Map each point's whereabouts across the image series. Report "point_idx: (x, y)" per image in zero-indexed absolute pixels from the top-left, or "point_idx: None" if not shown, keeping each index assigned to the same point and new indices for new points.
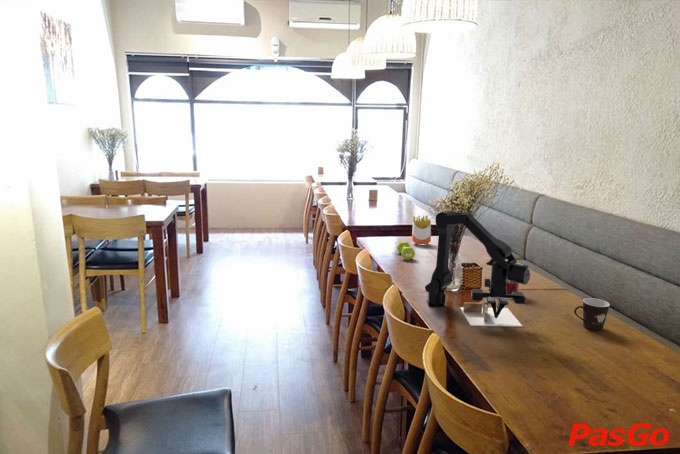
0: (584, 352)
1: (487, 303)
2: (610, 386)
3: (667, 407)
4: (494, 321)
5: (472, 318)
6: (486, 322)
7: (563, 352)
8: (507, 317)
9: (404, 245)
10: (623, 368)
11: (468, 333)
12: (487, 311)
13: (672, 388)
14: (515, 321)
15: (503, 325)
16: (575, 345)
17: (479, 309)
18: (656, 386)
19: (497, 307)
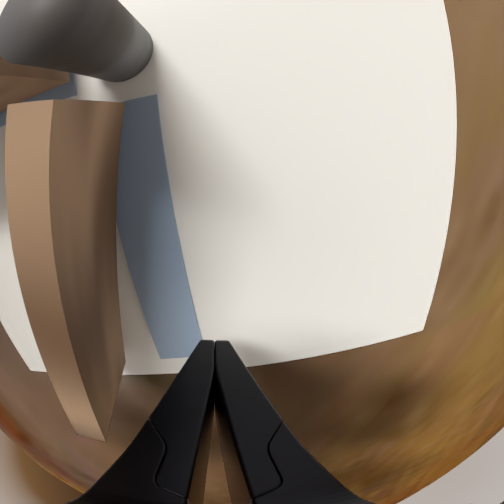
0: (464, 427)
1: (61, 43)
2: (394, 492)
3: (423, 487)
4: (204, 304)
5: (4, 263)
6: (122, 361)
7: (412, 452)
8: (387, 170)
9: None
10: (469, 443)
11: (58, 428)
12: (92, 408)
13: (473, 452)
14: (418, 265)
15: (277, 361)
16: (479, 404)
17: (19, 93)
18: (460, 460)
19: (233, 467)
